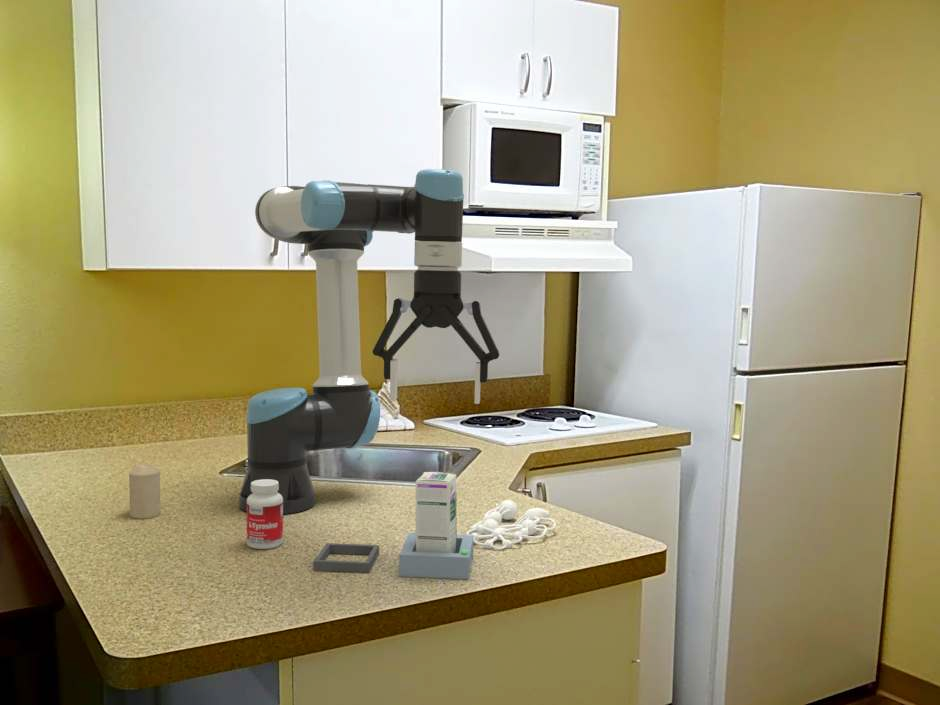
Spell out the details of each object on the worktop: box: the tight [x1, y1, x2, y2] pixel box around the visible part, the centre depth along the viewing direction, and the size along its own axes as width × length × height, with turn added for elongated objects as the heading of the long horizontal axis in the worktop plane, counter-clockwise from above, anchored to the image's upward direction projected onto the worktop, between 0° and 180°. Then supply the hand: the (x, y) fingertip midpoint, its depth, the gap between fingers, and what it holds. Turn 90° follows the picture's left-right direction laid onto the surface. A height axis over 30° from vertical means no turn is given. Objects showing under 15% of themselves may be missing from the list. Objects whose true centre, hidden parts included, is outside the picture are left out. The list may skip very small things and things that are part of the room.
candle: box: [128, 462, 161, 520], centre depth 162 cm, size 6×6×10 cm
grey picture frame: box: [312, 542, 380, 574], centre depth 139 cm, size 9×9×2 cm
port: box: [398, 532, 474, 580], centre depth 137 cm, size 11×11×4 cm
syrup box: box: [415, 471, 457, 553], centre depth 137 cm, size 6×6×14 cm
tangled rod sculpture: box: [465, 499, 557, 551], centre depth 154 cm, size 19×14×4 cm
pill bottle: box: [246, 479, 284, 550], centre depth 146 cm, size 6×6×11 cm
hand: (435, 401), depth 136 cm, fingers open, 13 cm apart
